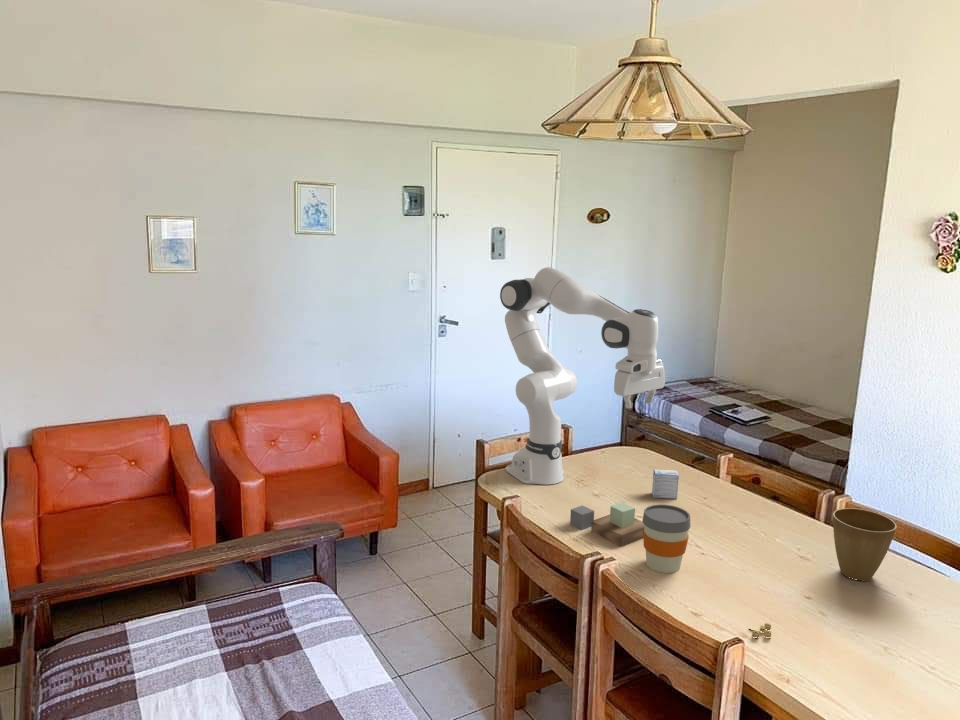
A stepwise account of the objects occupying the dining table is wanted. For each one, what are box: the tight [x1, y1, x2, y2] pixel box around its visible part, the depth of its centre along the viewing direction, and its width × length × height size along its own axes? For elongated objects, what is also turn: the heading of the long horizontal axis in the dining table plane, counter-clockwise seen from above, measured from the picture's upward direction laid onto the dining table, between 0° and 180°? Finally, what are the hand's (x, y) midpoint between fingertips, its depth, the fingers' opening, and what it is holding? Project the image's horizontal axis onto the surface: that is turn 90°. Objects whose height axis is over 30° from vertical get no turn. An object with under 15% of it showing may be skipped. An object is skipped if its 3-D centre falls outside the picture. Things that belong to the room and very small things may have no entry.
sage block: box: [609, 502, 636, 528], centre depth 218 cm, size 5×5×5 cm
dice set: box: [751, 622, 772, 639], centre depth 169 cm, size 5×5×2 cm
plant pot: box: [832, 507, 898, 581], centre depth 196 cm, size 15×15×16 cm
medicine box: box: [651, 469, 680, 500], centre depth 247 cm, size 8×4×9 cm, turn 84°
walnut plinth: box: [590, 514, 644, 548], centre depth 219 cm, size 12×12×4 cm
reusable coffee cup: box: [642, 504, 691, 574], centre depth 199 cm, size 13×12×15 cm
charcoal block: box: [569, 505, 595, 531], centre depth 224 cm, size 5×5×5 cm
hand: (638, 405), depth 231 cm, fingers open, 8 cm apart
